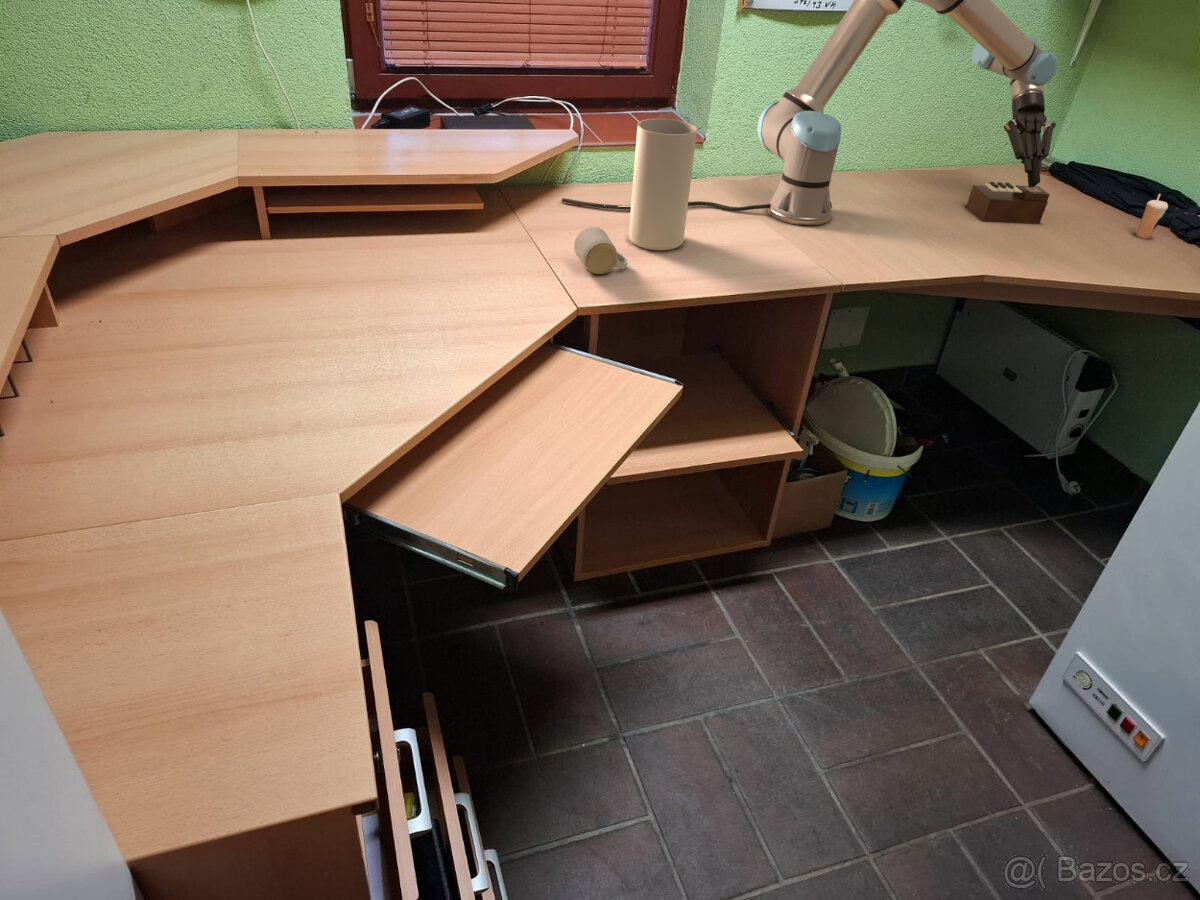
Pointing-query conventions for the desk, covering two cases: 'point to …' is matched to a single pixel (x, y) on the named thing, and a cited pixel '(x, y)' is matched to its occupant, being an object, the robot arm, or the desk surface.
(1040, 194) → the piano
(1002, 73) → the robot arm
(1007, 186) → the keyboard
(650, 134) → the cylinder vase
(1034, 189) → the key
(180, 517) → the desk surface
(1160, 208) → the milkshake
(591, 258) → the ceramic mug
